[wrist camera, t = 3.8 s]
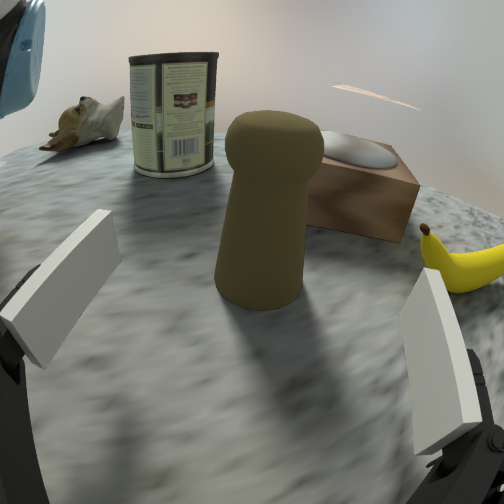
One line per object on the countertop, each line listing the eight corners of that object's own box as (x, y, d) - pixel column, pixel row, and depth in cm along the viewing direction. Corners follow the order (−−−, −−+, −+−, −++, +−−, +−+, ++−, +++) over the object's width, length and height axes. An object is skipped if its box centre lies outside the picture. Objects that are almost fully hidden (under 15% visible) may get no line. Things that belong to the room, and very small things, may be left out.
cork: (310, 309, 19) (355, 136, 12) (213, 310, 18) (216, 124, 12) (293, 251, 24) (318, 109, 17) (214, 250, 23) (219, 101, 16)
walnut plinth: (273, 218, 27) (282, 152, 24) (285, 170, 37) (292, 122, 33) (399, 242, 26) (421, 182, 22) (378, 189, 36) (391, 143, 32)
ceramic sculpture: (124, 90, 37) (30, 115, 32) (130, 143, 42) (42, 167, 37) (122, 84, 45) (44, 104, 40) (127, 128, 50) (52, 147, 45)
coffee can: (175, 145, 42) (176, 52, 34) (230, 161, 38) (237, 52, 30) (117, 166, 35) (111, 58, 27) (170, 187, 31) (169, 52, 22)
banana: (519, 283, 23) (546, 235, 19) (398, 314, 19) (437, 239, 15) (505, 266, 25) (529, 218, 21) (380, 286, 21) (410, 212, 17)
